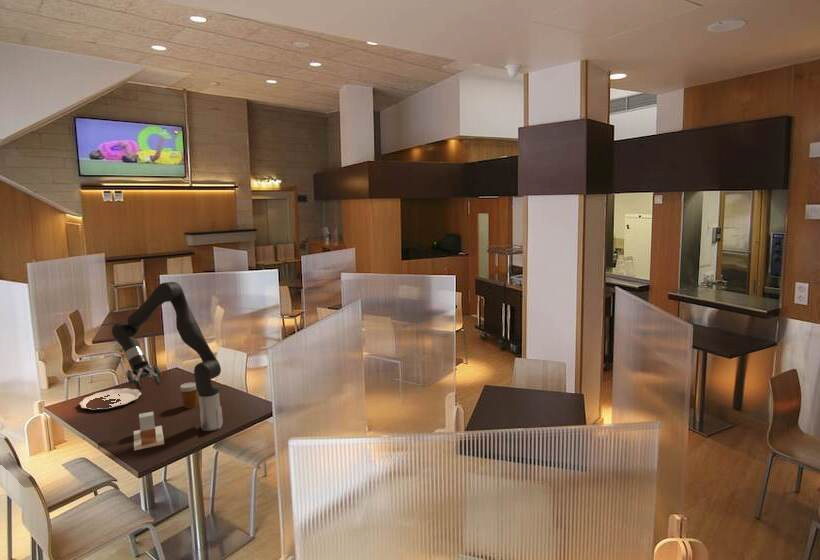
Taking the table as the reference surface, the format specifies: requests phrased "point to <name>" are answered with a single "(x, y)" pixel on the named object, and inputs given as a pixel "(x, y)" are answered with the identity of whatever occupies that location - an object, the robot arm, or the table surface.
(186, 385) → the disposable coffee cup
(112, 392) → the plate
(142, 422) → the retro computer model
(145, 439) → the block
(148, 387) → the table surface
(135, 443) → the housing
